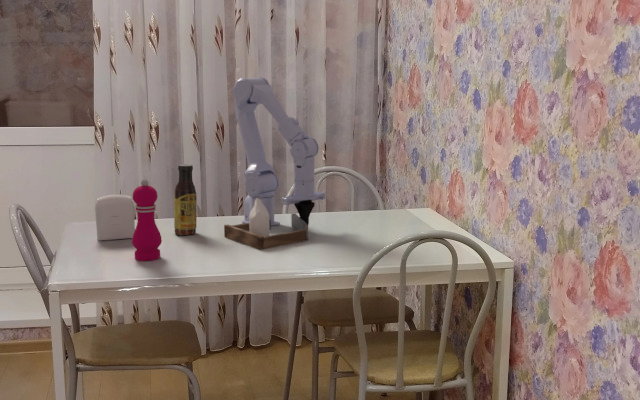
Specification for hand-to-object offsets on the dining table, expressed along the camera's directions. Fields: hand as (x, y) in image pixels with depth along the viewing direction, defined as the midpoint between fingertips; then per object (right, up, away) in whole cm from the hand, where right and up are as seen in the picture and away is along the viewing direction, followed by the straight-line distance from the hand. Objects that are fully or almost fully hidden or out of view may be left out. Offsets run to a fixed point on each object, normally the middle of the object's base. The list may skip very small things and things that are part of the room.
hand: (304, 226), depth 205 cm
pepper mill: (-39, -7, -28) cm, 48 cm away
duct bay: (-11, -3, -9) cm, 14 cm away
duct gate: (-1, -2, -2) cm, 3 cm away
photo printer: (-52, -3, -9) cm, 53 cm away
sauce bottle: (-34, -2, -3) cm, 34 cm away
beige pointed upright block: (-12, -4, -10) cm, 16 cm away
